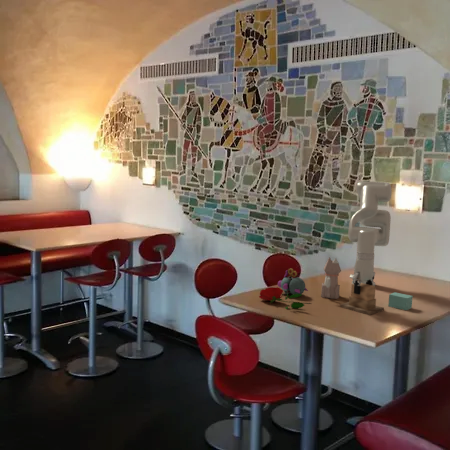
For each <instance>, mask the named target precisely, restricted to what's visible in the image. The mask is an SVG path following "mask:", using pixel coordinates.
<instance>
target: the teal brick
mask: <svg viewBox="0 0 450 450" xmlns="http://www.w3.org/2000/svg"><path fill="white" fill-rule="evenodd" d="M413 297H414V296H413V295H410V294H405V293H399V292H392V293H389V294H388V304H387V305H388V307H389V308H393V307H394V308H393V309H398V310H402V309H403V310H402V311H408V310H410V309H412V308H413Z"/></svg>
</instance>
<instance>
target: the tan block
mask: <svg viewBox="0 0 450 450" xmlns="http://www.w3.org/2000/svg"><path fill="white" fill-rule="evenodd" d="M360 286H361V291H360V294H355V293H354V284H352V283H351V287H350V288H351V291H350V296H351V297H354V298H358V299H362V300H366V301H369V300H372V299H376V285H375V286H372V285H368V284H364V283H361V284H360Z"/></svg>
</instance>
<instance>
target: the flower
mask: <svg viewBox="0 0 450 450" xmlns="http://www.w3.org/2000/svg"><path fill="white" fill-rule="evenodd" d="M283 293H284V291H283V290H282V288H280V287H279V286H277V287H267V288H264V289H261V290H260V292H259V295H258V297H259V298H260V299H261V300H262V301H269V303H268V304H273V302H275V301H278V302H282V303H288V301H287V300H288V299H290V300H291V299H295V298H299V297H301V296H302V295H303V293H302V294H290V295H289V294H285V295H286V296H285V297H284V296H283ZM282 297H284V299H285V300H286V301H285V300H283V299H282ZM305 304H307V305H312V304H313V303H311V302H300V301H293V300H292V302H290V304H287V306H285V307H284V309H286V310H289V308H288V307H290V308H291V309H301V308H303V307H304V306H305Z"/></svg>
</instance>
